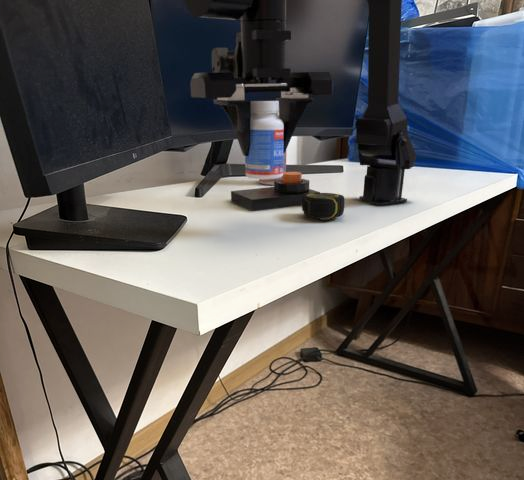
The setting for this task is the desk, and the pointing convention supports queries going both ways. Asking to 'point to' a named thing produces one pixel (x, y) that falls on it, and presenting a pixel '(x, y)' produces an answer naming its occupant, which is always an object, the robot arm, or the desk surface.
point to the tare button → (291, 177)
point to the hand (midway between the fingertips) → (264, 154)
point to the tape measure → (323, 205)
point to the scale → (272, 195)
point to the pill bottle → (265, 141)
